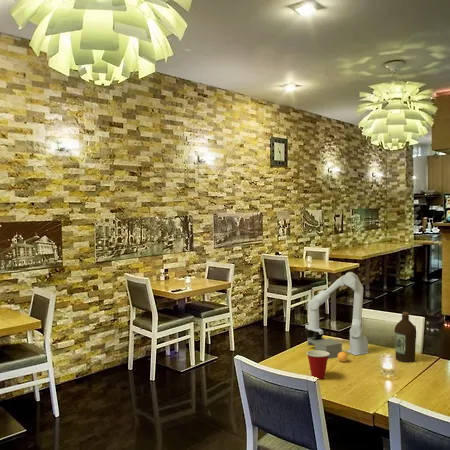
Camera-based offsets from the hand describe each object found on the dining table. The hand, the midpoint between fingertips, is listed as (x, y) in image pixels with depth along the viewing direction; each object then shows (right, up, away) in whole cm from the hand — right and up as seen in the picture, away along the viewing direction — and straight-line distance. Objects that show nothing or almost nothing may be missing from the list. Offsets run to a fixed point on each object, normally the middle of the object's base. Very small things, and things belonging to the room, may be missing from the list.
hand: (314, 343), depth 252 cm
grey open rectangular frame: (+4, -3, -8) cm, 9 cm away
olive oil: (+43, -3, -21) cm, 48 cm away
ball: (+10, -1, -23) cm, 25 cm away
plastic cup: (-7, -4, -43) cm, 44 cm away
